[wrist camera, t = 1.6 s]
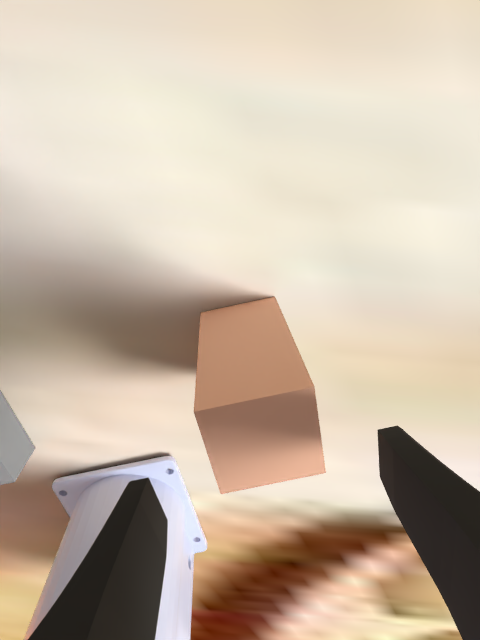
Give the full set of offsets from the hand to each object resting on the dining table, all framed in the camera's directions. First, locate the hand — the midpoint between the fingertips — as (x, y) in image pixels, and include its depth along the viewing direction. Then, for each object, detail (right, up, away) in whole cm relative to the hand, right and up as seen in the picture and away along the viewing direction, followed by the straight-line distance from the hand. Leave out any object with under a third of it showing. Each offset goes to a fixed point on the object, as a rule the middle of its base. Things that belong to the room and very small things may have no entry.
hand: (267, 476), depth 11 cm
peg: (-1, +4, +9) cm, 9 cm away
